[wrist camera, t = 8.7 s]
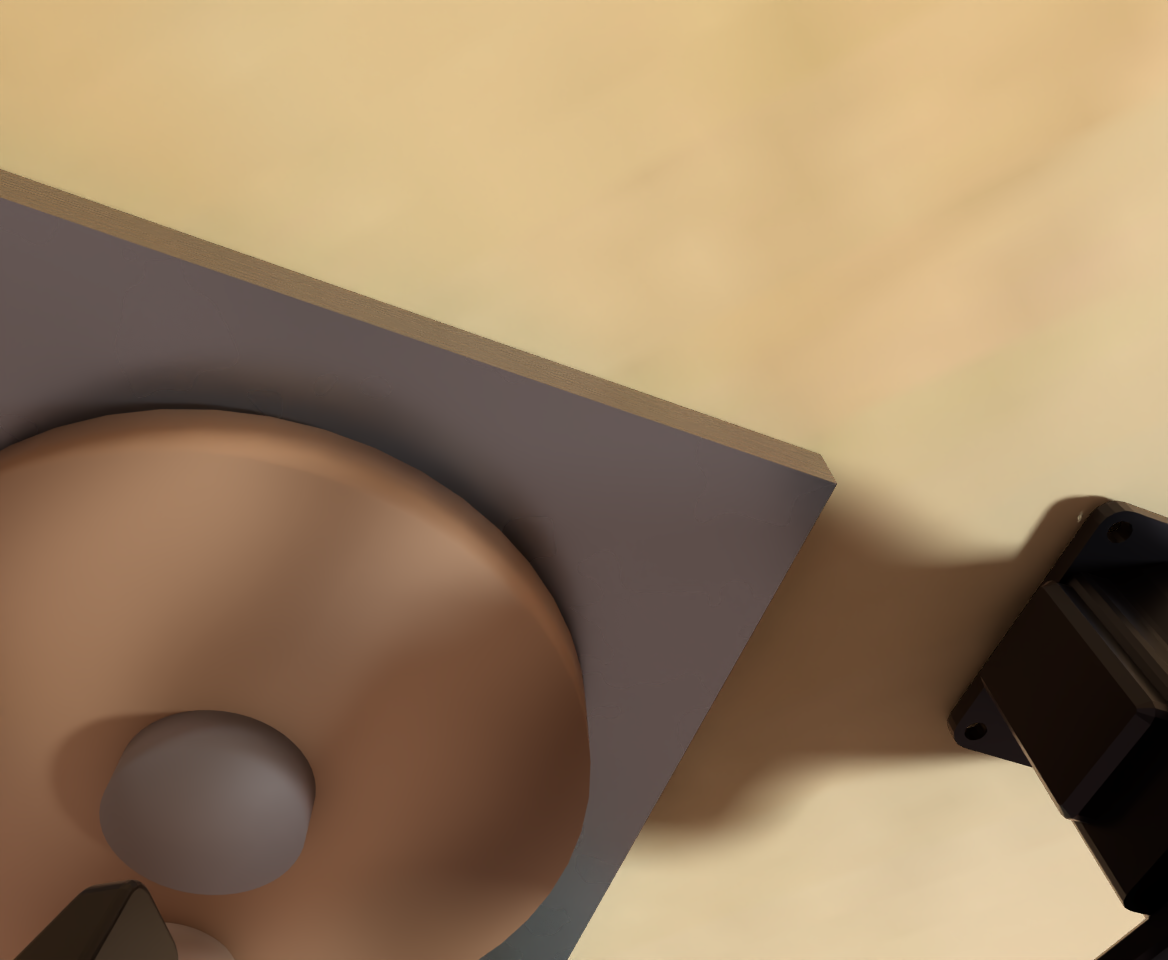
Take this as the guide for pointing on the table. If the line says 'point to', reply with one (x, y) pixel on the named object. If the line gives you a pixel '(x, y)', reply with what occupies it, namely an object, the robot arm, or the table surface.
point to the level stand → (441, 467)
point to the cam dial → (276, 694)
